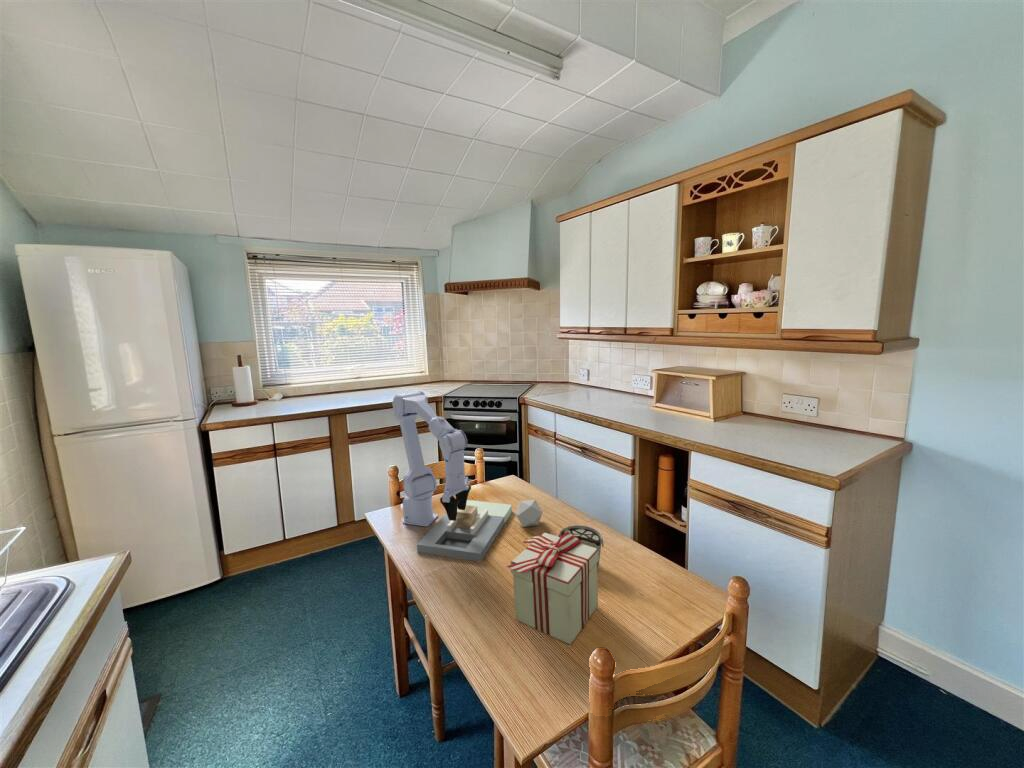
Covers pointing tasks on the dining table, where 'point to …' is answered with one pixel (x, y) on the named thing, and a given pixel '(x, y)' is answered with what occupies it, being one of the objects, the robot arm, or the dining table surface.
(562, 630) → the gift box
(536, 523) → the die
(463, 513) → the maple block
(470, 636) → the dining table surface
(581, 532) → the dark grey curved piece
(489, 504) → the trap deck
